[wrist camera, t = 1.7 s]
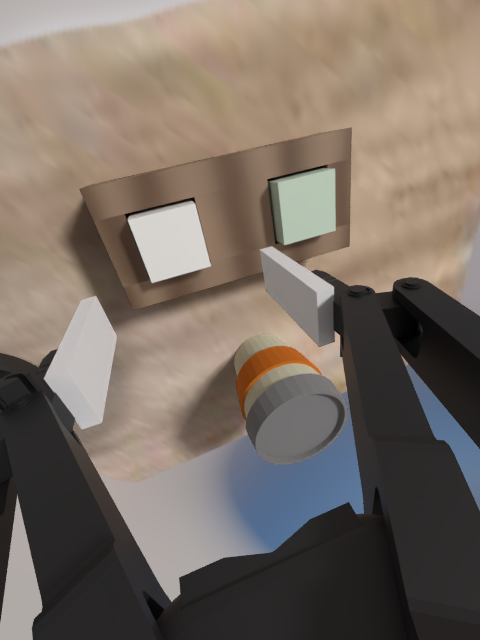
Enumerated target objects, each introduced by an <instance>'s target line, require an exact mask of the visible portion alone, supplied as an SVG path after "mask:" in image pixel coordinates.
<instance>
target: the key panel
mask: <svg viewBox="0 0 480 640" xmlns="http://www.w3.org/2000/svg"><path fill="white" fill-rule="evenodd" d="M351 135H352V128H346V129H341V130H335V131H330V132H324V133H319V134H314V135H310V136H306V137H301V138H297V139H292V140H288V141H283V142H279V143H275V144H270V145H266V146H261V147H257V148H252V149H248V150H243V151H239V152H235V153H230V154H226V155H221V156H217V157H212V158H208V159H203V160H199V161H195V162H190V163H186V164H181V165H177V166H172V167H168V168H164V169H159V170H155V171H150V172H146V173H141V174H137V175H132V176H128V177H124V178H119V179H115V180H110V181H106V182H101V183H97V184H93V185H89V186H86V187H84V188H81V189H80V192H81V194H82V196H83V198H84V201H85V203H86V205H87V207H88V210H89V212H90V214H91V216H92V219H93V221H94V223H95V225H96V227H97V230H98V232H99V234H100V236H101V239H102V241H103V243H104V245H105V248H106V250H107V252H108V254H109V256H110V259H111V261H112V263H113V265H114V268H115V270H116V272H117V274H118V277H119V279H120V281H121V283H122V286H123V288H124V290H125V292H126V294H127V297H128V299H129V301H130V303H131V306H132V308H133V310H136V309H139V308H143V307H146V306H149V305H153V304H156V303H160V302H163V301H166V300H170V299H173V298H176V297H180V296H183V295H187V294H190V293H193V292H197V291H200V290H203V289H207V288H210V287H214V286H217V285H220V284H224V283H227V282H230V281H234V280H237V279H241V278H244V277H247V276H251V275H254V274H258V273H261V272H263V268H262V261H261V255H260V249H264V248H267V247H271V246H272V247H274V248H275V249H277V250H278V251H280V252H281V253H283V254H284V255H286V256H287V257H289V258H291V259H292V260H294V261H295V262H298V261H301V260H305V259H308V258H312V257H315V256H318V255H322V254H325V253H328V252H332V251H335V250H339V249H342V248H345V247H349V244H350V189H351ZM311 168H331V169H335V210H336V231H333V232H329V233H326V234H322V235H319V236H315V237H312V238H308V239H305V240H301V241H298V242H294V243H291V244H287V245H283V244H281V243H280V242H278V241H276V240H275V238H274V230H273V222H272V214H271V205H270V197H269V189H268V181H267V179H270V178H274V177H278V176H282V175H286V174H290V173H295V172H299V171H303V170H307V169H311ZM188 198H189V199H190V200H191V201H193V202H194V203H195V205H196V209H197V213H198V217H199V221H200V225H201V228H202V232H203V236H204V240H205V244H206V248H207V252H208V256H209V260H210V264H211V266H210V267H207V268H203V269H200V270H196V271H193V272H189V273H186V274H182V275H179V276H175V277H172V278H168V279H165V280H161V281H158V282H154V283H152V282H151V280H150V277H149V274H148V272H147V269H146V267H145V264H144V261H143V259H142V256H141V254H140V251H139V248H138V246H137V243H136V241H135V238H134V235H133V233H132V230H131V228H130V225H129V222H128V218H129V215H130V213H131V212H135V211H139V210H143V209H147V208H151V207H156V206H160V205H164V204H168V203H172V202H176V201H180V200H184V199H188Z"/></svg>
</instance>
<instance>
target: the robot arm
mask: <svg viewBox="0 0 480 640" xmlns="http://www.w3.org/2000/svg"><path fill="white" fill-rule="evenodd" d="M260 255H261V261H262V268H263V274H264V281H265V287H266V291H267V292H268V294H269V295H270V296H271V297H272V298H273V299H274V300H275V301H276V302H277V303H278V304H279V305H280V306H281V307H282V308H283V309H284V310H285V311H286V313H287V314H288V315H289V316H290V317H291V318H292V319H293V320H294V321H295V322H296V323H297V324H298V325H299V326H300V327H301V328H302V329H303V330H304V332H305V333H306V334H307V335H308V336H309V337H310V338H311V339H312V340H313V341H314V342H315V343H316V344H317V345H318V346H319V347H321V346H324V345H327V344H330V343H332V342H335V333H334V330H335V331H336V332H337V333H338V334H339V335H340V357H342V358H343V365H344V372H345V378H346V385H347V392H348V398H349V404H350V412H351V419H352V425H353V432H354V438H355V445H356V452H357V459H358V465H359V472H360V479H361V486H362V493H363V504H364V514H355V512H354V510H353V509H352V507H351V505H350V503H349V502H348V503H346V504H344V505H341V506H339V507H337V508H335V509H332V510H330V511H328V512H326V513H323V514H321V515H319V516H317V517H314V518H312V519H310V520H309V521H308V522H307V523H306V524H304V525H303V527H301V528H300V529H299V530H298V531H297V532H295V533H294V534H293V535H292V536H291V537H290V538H289V539H287V541H285V542H284V543H283V544H282V545H281V546H280V547H279V548H277V549H276V550H275V551H273V552H271V553H265V554H255V555H246V556H237V557H228V558H223V559H220V560H218V561H216V562H213V563H211V564H209V565H207V566H205V567H202V568H200V569H198V570H196V571H193V572H191V573H189V574H187V575H185V576H182V577H180V578H179V580H180V593H181V594H180V595H179V596H178V597H177V598H176V599H174V600H173V602H171V601H170V599H169V598H168V597H167V595H166V594H165V592H164V591H163V589H162V588H161V586H160V584H159V583H158V581H157V579H156V577H155V576H154V574H153V572H152V570H151V568H150V566H149V565H148V563H147V561H146V559H145V557H144V556H143V554H142V552H141V550H140V548H139V546H138V545H137V543H136V541H135V539H134V538H133V536H132V534H131V532H130V530H129V529H128V527H127V525H126V523H125V521H124V519H123V517H122V516H121V514H120V512H119V510H118V508H117V507H116V505H115V503H114V501H113V499H112V497H111V496H110V494H109V492H108V490H107V488H106V487H105V485H104V483H103V481H102V480H101V478H100V476H99V474H98V472H97V470H96V468H95V467H94V465H93V463H92V461H91V459H90V458H89V456H88V454H87V452H86V450H85V449H84V447H83V445H82V443H81V441H80V439H79V438H78V436H77V435H76V433H75V432H74V431H73V425H74V422H75V421H76V422H77V423H78V425H79V426H80V427H81V429H82V430H83V429H86V428H89V427H92V426H94V425H97V424H100V423H102V420H103V415H104V409H105V403H106V397H107V391H108V386H109V380H110V374H111V368H112V363H113V357H114V351H115V345H116V339H117V336H116V334H115V332H114V330H113V328H112V326H111V324H110V322H109V320H108V318H107V316H106V314H105V312H104V310H103V308H102V306H101V304H100V303H99V301H98V299H97V297H96V296H94V297H90V298H87V299H83V300H81V302H80V304H79V306H78V308H77V310H76V313H75V315H74V317H73V319H72V321H71V323H70V325H69V327H68V329H67V331H66V333H65V335H64V337H63V340H62V342H61V344H60V346H59V348H58V349H57V350H53V351H51V352H50V353H49V354H48V355H47V356H46V357H45V358H44V359H43V360H42V362H41V364H40V366H39V368H38V367H36V366H35V365H33V364H31V363H29V362H27V361H25V360H22V359H20V358H17V357H14V356H10V355H6V354H1V353H0V620H1V612H2V605H3V597H4V589H5V582H6V574H7V567H8V559H9V552H10V543H11V537H12V529H13V522H14V514H15V507H16V499H17V495H18V499H19V503H20V508H21V512H22V516H23V520H24V525H25V529H26V534H27V538H28V542H29V546H30V550H31V556H32V559H33V564H34V569H35V573H36V577H37V582H38V586H39V590H40V594H41V599H42V606H43V608H42V612H41V613H40V614H39V615H38V616H37V617H36V618H35V619H34V622H33V626H32V633H33V640H480V511H479V509H478V506H477V504H476V502H475V500H474V498H473V496H472V493H471V491H470V489H469V486H468V484H467V482H466V480H465V478H464V475H463V473H462V471H461V468H460V466H459V464H458V462H457V460H456V458H455V455H454V453H453V451H452V450H451V448H450V446H449V445H448V444H447V443H446V442H445V441H443V440H436V438H435V437H434V435H433V433H432V430H431V428H430V425H429V423H428V421H427V418H426V416H425V413H424V411H423V408H422V406H421V404H420V401H419V399H418V396H417V394H416V391H415V389H414V387H413V384H412V381H411V379H410V376H409V374H408V372H407V369H406V367H405V364H404V362H403V359H402V357H401V355H402V356H403V358H404V359H405V360H406V361H407V362H408V363H409V365H410V366H411V367H412V368H413V369H414V371H415V372H416V373H417V374H418V375H419V377H420V378H421V379H422V380H423V381H424V383H425V384H426V385H427V386H428V387H429V389H430V390H431V391H432V392H433V393H434V395H435V396H436V397H437V398H438V399H439V401H440V402H441V403H442V404H443V405H444V407H445V408H446V409H447V410H448V411H449V413H450V414H451V415H452V416H453V417H454V419H455V420H456V421H457V422H458V423H459V425H460V426H461V427H462V428H463V429H464V430H465V432H466V433H467V434H468V435H469V436H470V438H471V439H472V440H473V441H474V443H475V444H476V445H477V446H478V447H479V449H480V316H479V315H477V314H475V313H474V312H473V311H471V310H469V309H468V308H467V307H465V306H464V305H462V304H461V303H459V302H458V301H456V300H455V299H453V298H452V297H450V296H449V295H447V294H446V293H444V292H443V291H441V290H440V289H438V288H437V287H435V286H434V285H432V284H431V283H429V282H428V281H425V280H423V279H418V278H414V277H413V278H412V277H409V278H403V279H400V280H397V281H395V282H394V284H393V291H390V292H383V293H375V291H374V290H373V289H372V288H370V287H367V286H362V285H354V286H348V285H346V284H344V283H343V282H341V281H339V280H338V279H337V280H336V278H334V277H333V276H332V277H331V275H329V274H328V273H326V272H323V271H319V270H314V271H309V270H307V269H306V268H304V267H303V266H301V265H300V264H298V263H297V262H295V261H294V260H292V259H291V258H289V257H287V256H286V255H284V254H283V253H281V252H280V251H278V250H277V249H275V248H274V247H272V246H271V247H267V248H264V249H260Z"/></svg>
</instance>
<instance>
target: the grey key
mask: <svg viewBox="0 0 480 640" xmlns="http://www.w3.org/2000/svg"><path fill="white" fill-rule="evenodd" d="M128 222H129V225H130V228H131V230H132V233H133V235H134V238H135V241H136V243H137V246H138V248H139V251H140V254H141V256H142V259H143V261H144V264H145V267H146V269H147V272H148V274H149V277H150V280H151V282H152V283H154V282H158V281H161V280H165V279H168V278H172V277H175V276H179V275H182V274H186V273H189V272H193V271H196V270H200V269H203V268H207V267H210V266H211V264H210V260H209V256H208V252H207V248H206V244H205V240H204V236H203V232H202V228H201V225H200V221H199V217H198V213H197V209H196V205H195V203H194V202H193V201H191V200H190V199H189V198H188V199H184V200H180V201H176V202H172V203H168V204H164V205H160V206H156V207H151V208H147V209H143V210H139V211H135V212H131V213H130V215H129V218H128Z"/></svg>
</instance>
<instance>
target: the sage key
mask: <svg viewBox="0 0 480 640" xmlns="http://www.w3.org/2000/svg"><path fill="white" fill-rule="evenodd" d="M267 181H268V189H269V197H270V205H271V214H272V222H273V230H274V238H275V240H276V241H278V242H280V243H281V244H283V245H287V244H291V243H294V242H298V241H301V240H305V239H308V238H312V237H315V236H319V235H322V234H326V233H329V232H333V231H336V210H335V169H331V168H311V169H307V170H303V171H299V172H295V173H290V174H286V175H282V176H278V177H274V178H270V179H267Z"/></svg>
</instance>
